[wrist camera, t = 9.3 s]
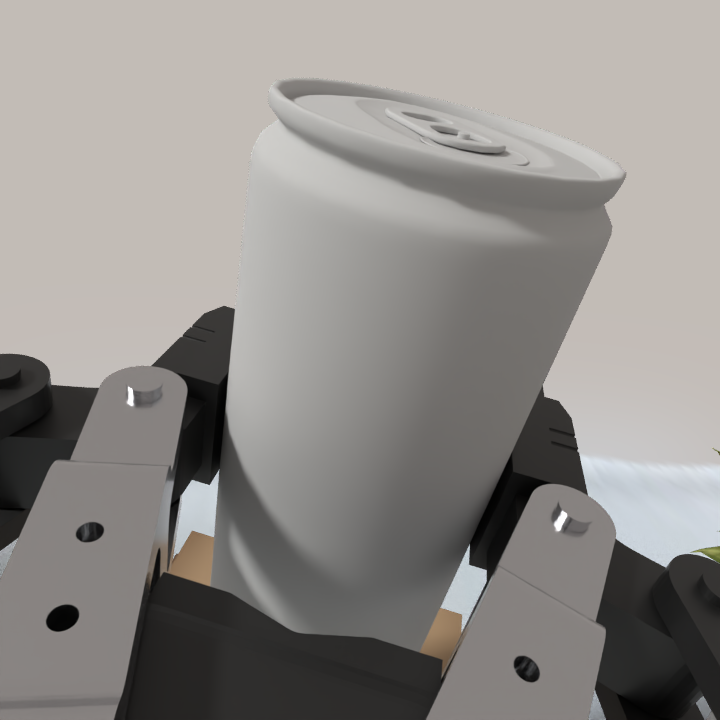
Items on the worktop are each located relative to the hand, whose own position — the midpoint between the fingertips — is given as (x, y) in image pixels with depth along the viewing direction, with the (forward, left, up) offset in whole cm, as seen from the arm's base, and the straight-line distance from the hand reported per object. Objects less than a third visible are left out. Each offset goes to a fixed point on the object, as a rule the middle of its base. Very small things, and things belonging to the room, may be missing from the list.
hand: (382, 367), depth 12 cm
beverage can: (+1, -3, -7) cm, 7 cm away
